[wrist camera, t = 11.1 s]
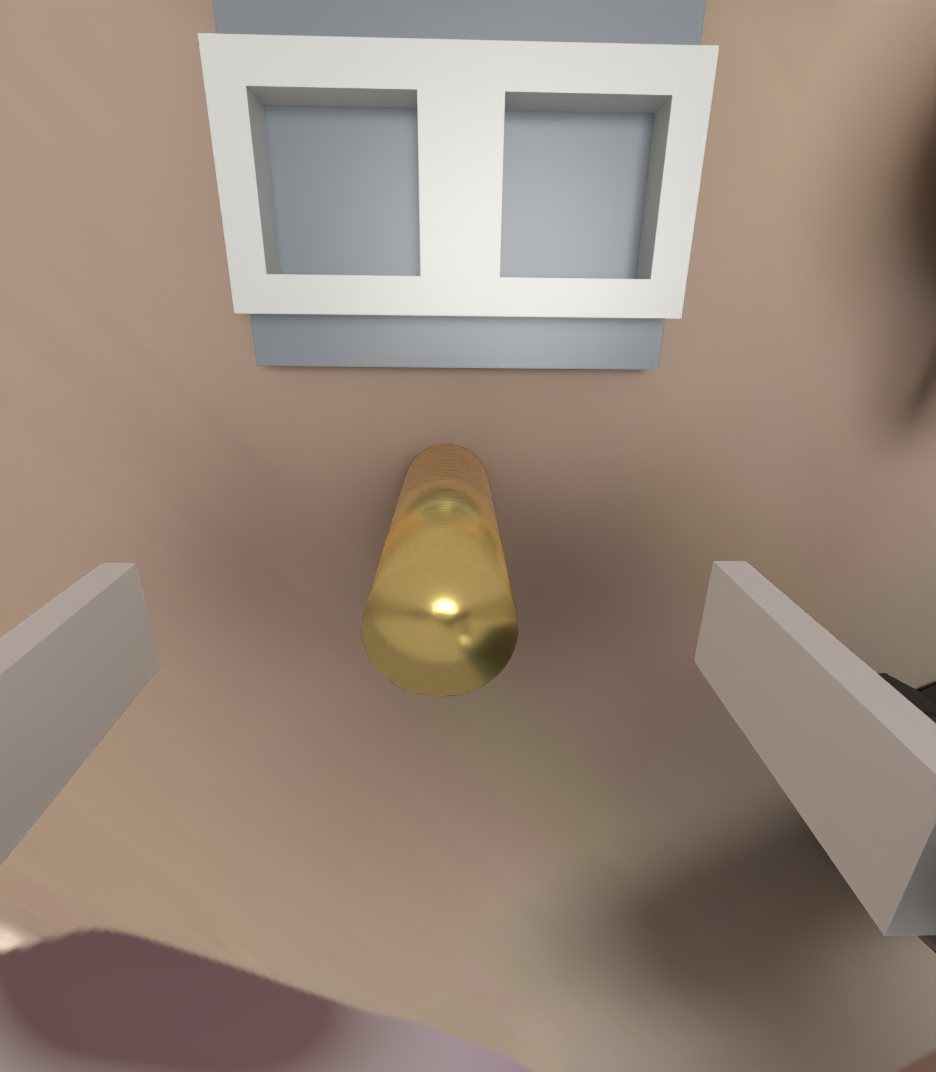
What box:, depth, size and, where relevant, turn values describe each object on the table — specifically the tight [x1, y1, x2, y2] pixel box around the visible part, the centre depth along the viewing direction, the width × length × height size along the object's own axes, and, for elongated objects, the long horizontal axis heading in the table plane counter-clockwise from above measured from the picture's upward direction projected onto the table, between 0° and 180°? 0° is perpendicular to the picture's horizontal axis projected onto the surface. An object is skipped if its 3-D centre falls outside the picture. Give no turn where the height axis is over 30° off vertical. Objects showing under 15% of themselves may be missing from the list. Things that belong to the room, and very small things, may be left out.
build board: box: [198, 0, 719, 370], centre depth 19 cm, size 11×15×3 cm
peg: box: [362, 444, 518, 697], centre depth 18 cm, size 4×4×12 cm
